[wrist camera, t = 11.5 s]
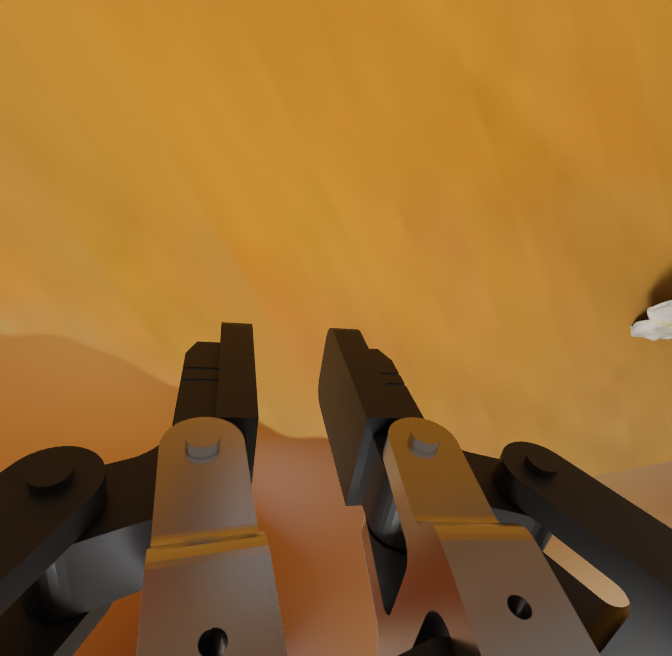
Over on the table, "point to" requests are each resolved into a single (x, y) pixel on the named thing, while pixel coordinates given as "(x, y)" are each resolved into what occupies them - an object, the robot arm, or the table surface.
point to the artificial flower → (655, 323)
